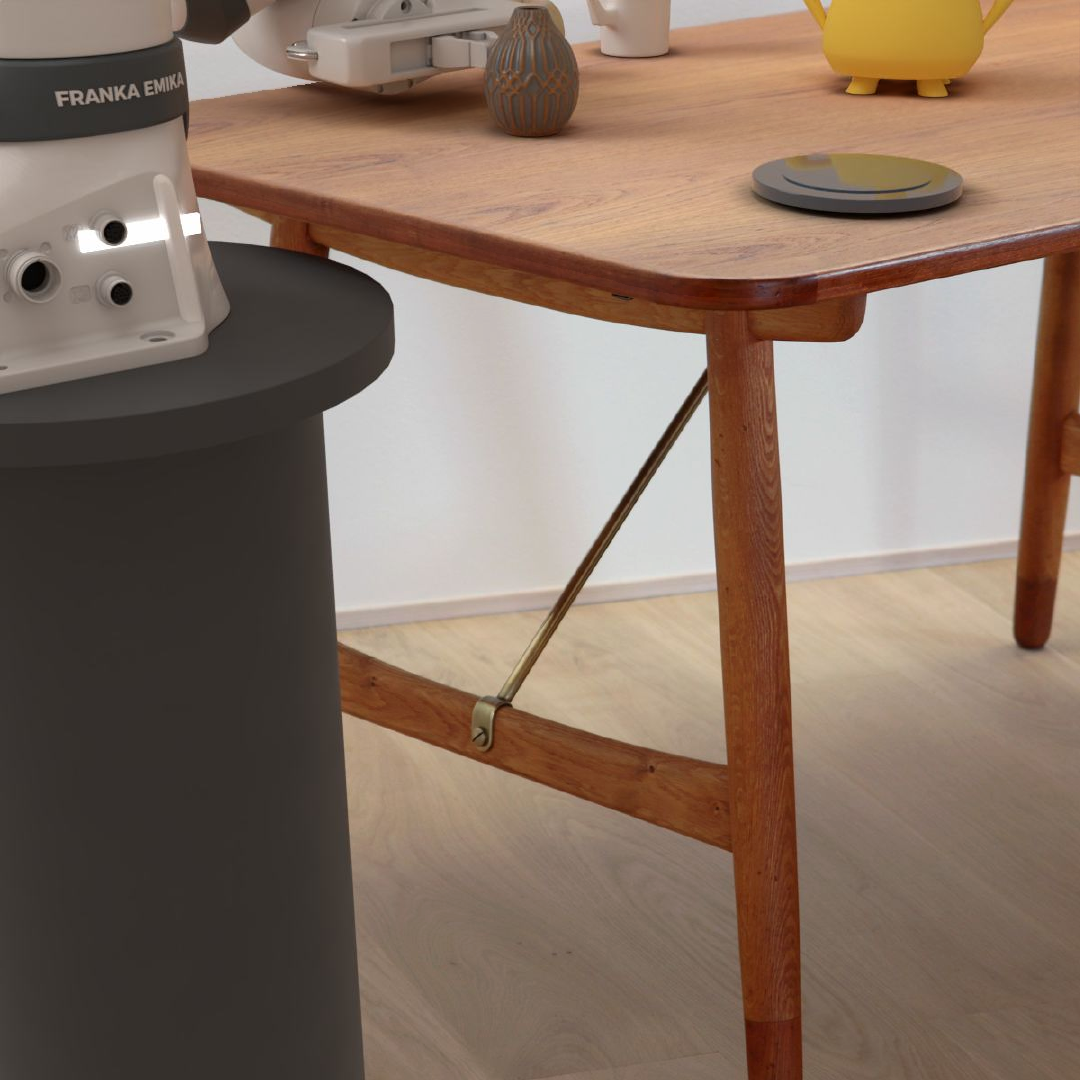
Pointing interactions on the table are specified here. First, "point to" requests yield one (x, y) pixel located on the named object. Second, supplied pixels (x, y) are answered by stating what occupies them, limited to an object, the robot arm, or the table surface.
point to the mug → (632, 26)
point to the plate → (857, 183)
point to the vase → (531, 75)
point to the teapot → (904, 40)
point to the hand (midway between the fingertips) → (501, 54)
